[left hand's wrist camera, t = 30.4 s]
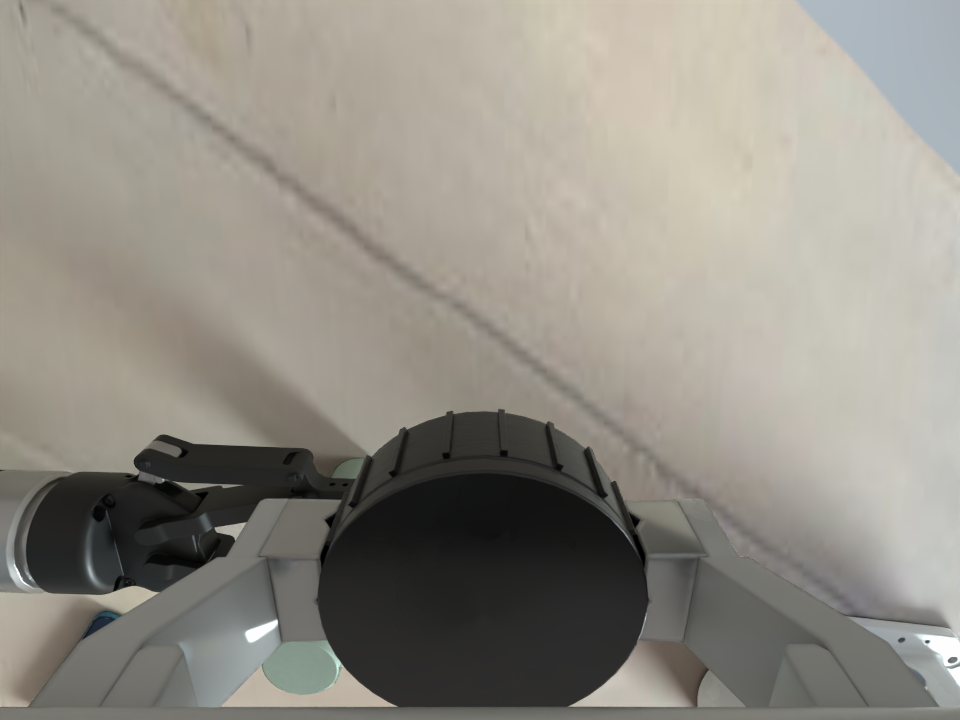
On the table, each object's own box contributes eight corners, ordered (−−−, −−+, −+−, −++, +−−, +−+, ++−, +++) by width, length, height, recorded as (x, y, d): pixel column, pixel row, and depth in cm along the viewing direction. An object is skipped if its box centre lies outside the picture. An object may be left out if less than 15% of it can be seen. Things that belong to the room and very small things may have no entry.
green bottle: (327, 501, 43) (249, 692, 28) (336, 452, 41) (258, 627, 26) (385, 513, 43) (338, 707, 29) (396, 465, 42) (352, 644, 27)
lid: (656, 594, 11) (690, 681, 9) (411, 665, 12) (399, 759, 10) (573, 363, 9) (595, 417, 7) (289, 464, 10) (248, 535, 8)
